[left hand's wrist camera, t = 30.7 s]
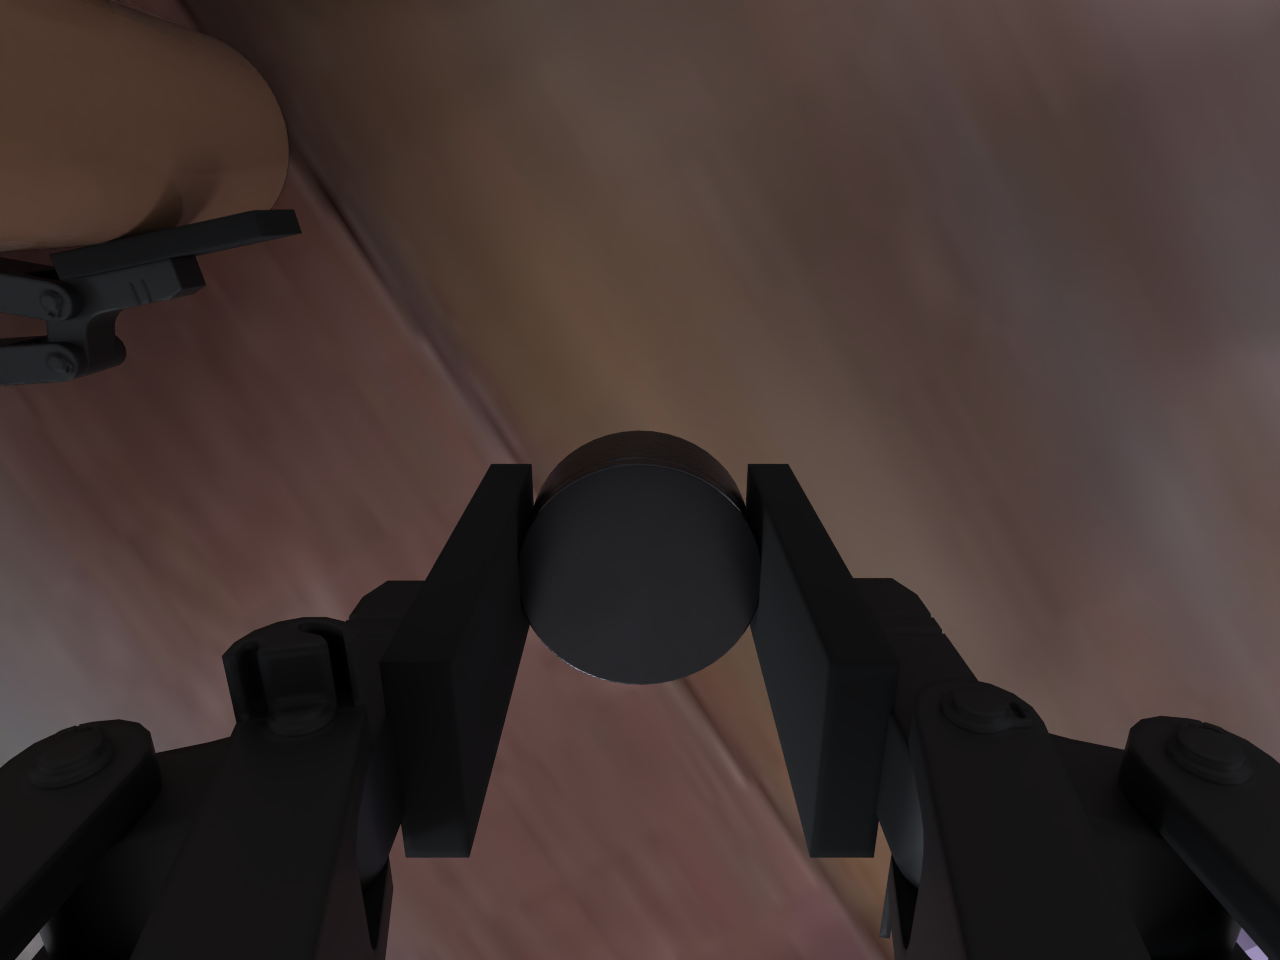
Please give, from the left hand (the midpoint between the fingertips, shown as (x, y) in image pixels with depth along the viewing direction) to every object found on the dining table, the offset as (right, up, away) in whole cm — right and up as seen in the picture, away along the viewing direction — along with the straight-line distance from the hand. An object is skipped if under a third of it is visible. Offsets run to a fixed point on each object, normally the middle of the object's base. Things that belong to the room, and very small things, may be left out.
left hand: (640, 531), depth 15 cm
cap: (0, -1, -2) cm, 2 cm away
